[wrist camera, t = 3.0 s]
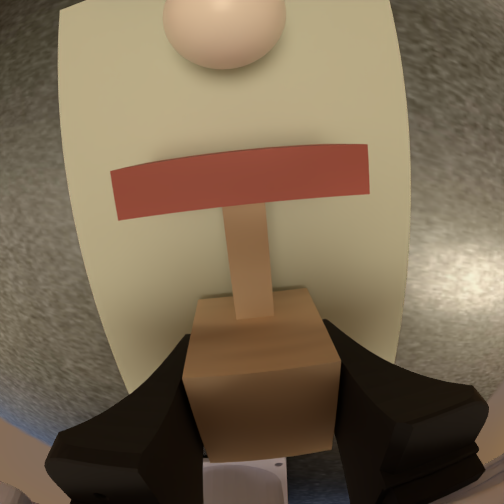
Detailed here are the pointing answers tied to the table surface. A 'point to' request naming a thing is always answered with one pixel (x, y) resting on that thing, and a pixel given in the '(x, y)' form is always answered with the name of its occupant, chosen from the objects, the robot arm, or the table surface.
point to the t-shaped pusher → (253, 297)
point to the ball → (223, 30)
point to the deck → (229, 139)
